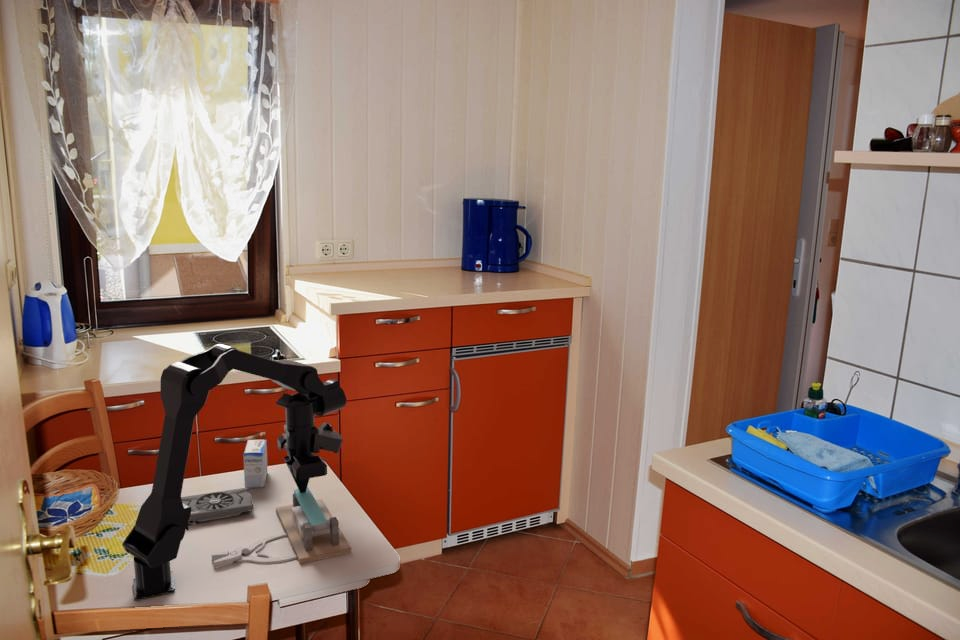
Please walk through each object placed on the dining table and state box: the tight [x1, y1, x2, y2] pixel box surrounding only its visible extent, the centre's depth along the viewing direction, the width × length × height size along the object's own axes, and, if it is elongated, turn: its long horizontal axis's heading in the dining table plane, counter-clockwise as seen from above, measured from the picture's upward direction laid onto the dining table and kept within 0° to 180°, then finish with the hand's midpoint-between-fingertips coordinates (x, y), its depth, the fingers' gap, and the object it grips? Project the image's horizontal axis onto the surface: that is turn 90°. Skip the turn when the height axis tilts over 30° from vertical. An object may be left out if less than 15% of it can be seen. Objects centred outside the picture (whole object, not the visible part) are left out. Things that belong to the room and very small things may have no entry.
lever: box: [293, 486, 330, 532], centre depth 151 cm, size 17×3×1 cm, turn 26°
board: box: [275, 498, 352, 565], centre depth 151 cm, size 22×10×6 cm, turn 26°
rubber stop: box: [292, 493, 300, 507], centre depth 158 cm, size 2×4×5 cm, turn 116°
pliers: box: [211, 532, 297, 569], centre depth 143 cm, size 10×2×15 cm
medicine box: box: [243, 439, 268, 489], centre depth 173 cm, size 8×4×9 cm, turn 10°
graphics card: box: [181, 487, 254, 526], centre depth 157 cm, size 17×4×12 cm
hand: (302, 491), depth 157 cm, fingers closed, pressing on lever
